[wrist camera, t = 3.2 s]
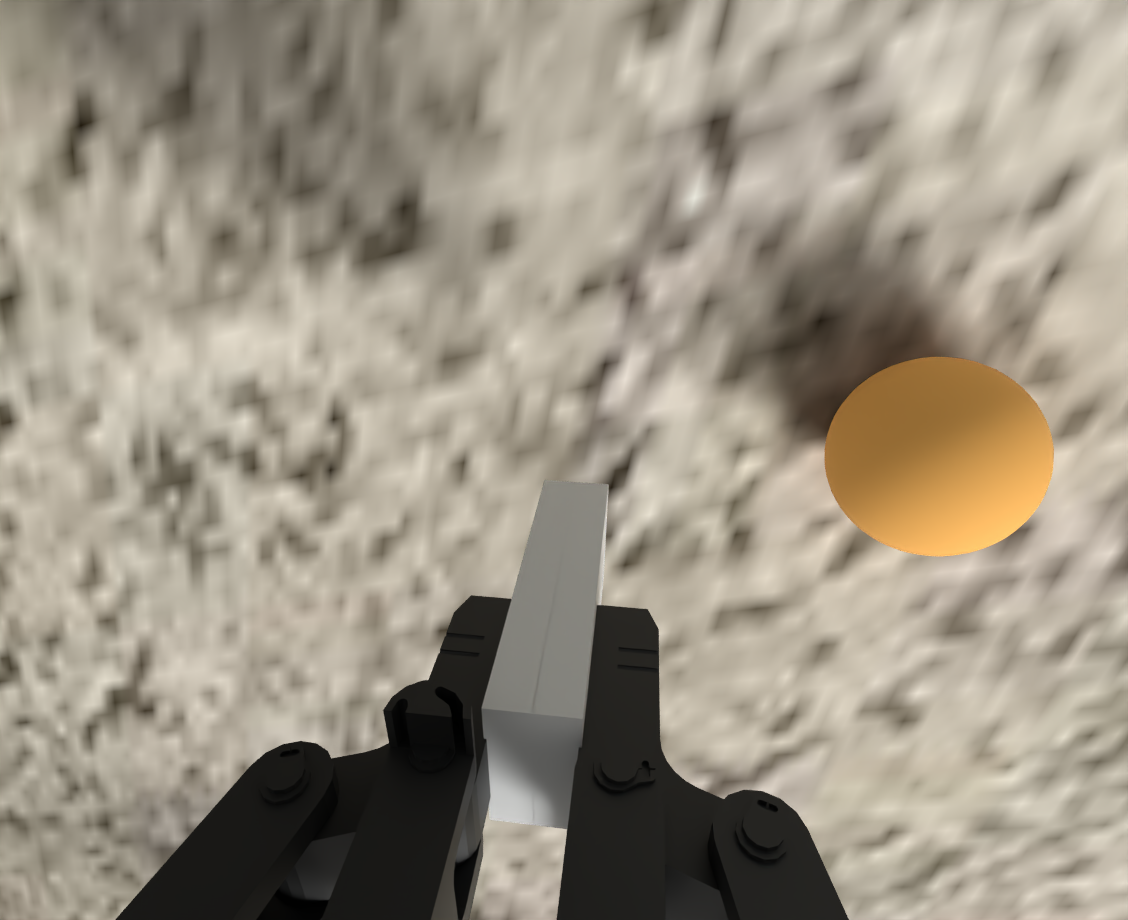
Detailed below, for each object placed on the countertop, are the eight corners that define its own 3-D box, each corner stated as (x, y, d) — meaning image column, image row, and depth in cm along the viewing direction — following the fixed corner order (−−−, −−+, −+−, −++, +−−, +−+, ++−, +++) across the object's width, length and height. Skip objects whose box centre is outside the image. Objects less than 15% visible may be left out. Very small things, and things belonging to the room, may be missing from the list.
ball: (827, 324, 19) (883, 402, 15) (1023, 333, 19) (1145, 417, 14) (792, 481, 22) (830, 589, 18) (963, 492, 22) (1048, 607, 17)
